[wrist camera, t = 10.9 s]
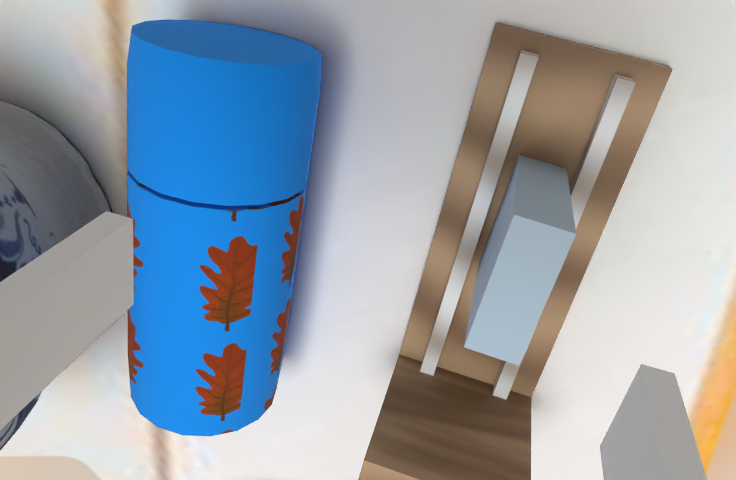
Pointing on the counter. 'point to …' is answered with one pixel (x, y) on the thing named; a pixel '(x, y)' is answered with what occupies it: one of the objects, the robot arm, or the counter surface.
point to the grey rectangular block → (521, 260)
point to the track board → (470, 234)
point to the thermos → (214, 215)
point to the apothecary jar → (39, 199)
